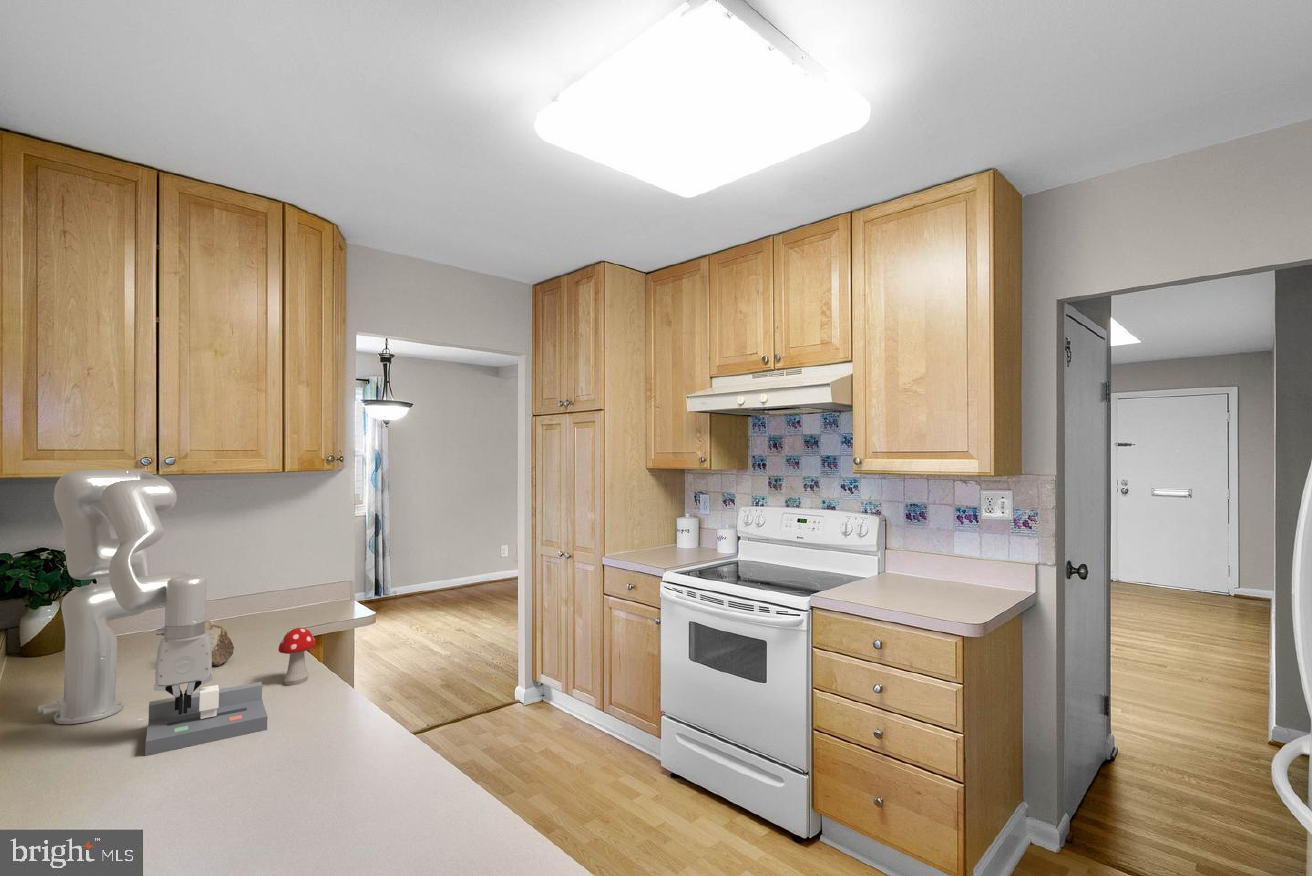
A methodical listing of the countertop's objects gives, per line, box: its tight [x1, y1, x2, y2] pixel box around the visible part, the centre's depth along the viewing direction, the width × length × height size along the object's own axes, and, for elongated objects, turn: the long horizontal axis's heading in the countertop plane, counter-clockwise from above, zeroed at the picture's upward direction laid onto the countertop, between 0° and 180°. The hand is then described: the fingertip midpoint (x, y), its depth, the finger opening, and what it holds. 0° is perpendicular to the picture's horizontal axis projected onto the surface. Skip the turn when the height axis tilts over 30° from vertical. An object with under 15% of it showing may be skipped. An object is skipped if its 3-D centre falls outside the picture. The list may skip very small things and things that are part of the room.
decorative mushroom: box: [277, 627, 317, 686], centre depth 177 cm, size 10×9×15 cm
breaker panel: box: [144, 681, 268, 757], centre depth 146 cm, size 22×16×6 cm
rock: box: [205, 619, 235, 667], centre depth 190 cm, size 15×8×15 cm
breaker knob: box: [198, 684, 220, 719], centre depth 146 cm, size 4×4×6 cm
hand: (182, 711), depth 143 cm, fingers closed
